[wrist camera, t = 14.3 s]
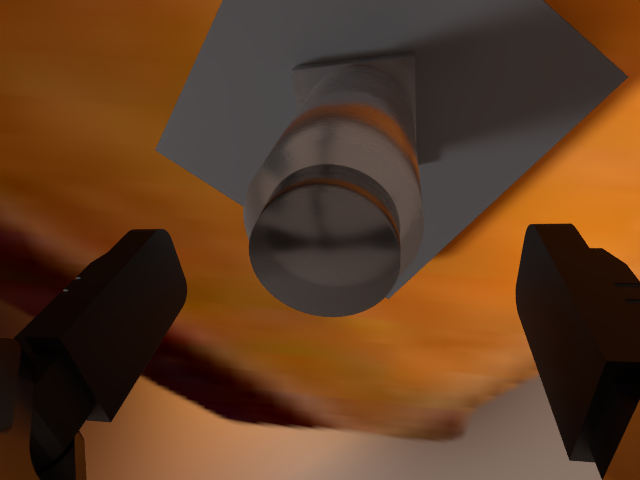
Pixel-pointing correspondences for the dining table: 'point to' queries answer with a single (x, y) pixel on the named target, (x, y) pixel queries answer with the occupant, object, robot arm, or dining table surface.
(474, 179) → the slate block
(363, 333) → the dining table surface
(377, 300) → the salt shaker
